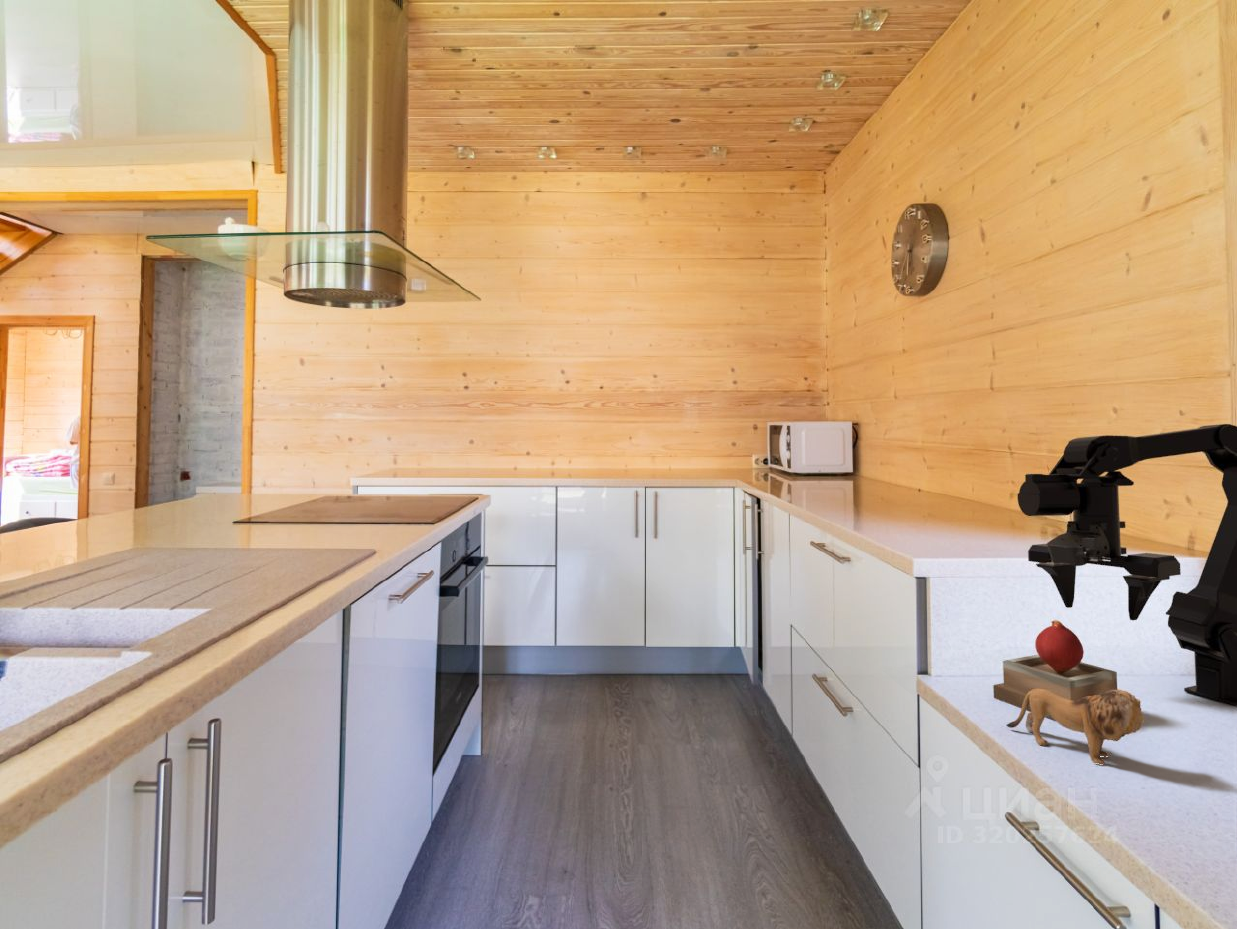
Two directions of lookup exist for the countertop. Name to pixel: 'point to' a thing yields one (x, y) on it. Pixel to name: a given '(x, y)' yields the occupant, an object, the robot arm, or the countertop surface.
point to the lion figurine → (1084, 716)
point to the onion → (1059, 647)
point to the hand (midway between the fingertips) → (1099, 613)
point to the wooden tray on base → (1051, 680)
